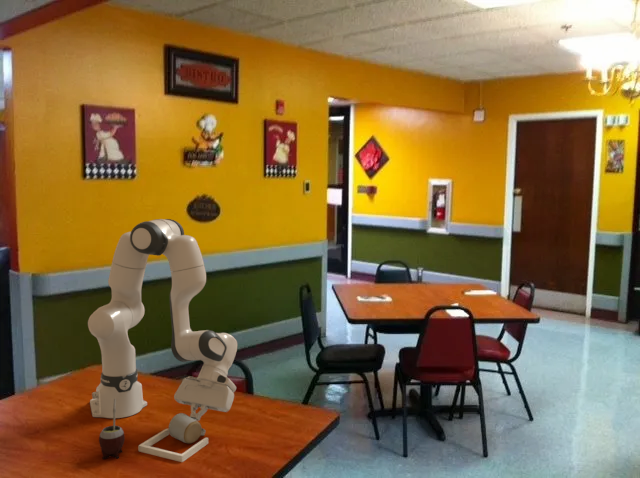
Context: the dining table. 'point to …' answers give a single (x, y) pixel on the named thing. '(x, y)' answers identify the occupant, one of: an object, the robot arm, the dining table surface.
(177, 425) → the ceramic mug
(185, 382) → the robot arm
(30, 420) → the dining table surface
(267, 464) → the dining table surface
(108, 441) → the mate gourd
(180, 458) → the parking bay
